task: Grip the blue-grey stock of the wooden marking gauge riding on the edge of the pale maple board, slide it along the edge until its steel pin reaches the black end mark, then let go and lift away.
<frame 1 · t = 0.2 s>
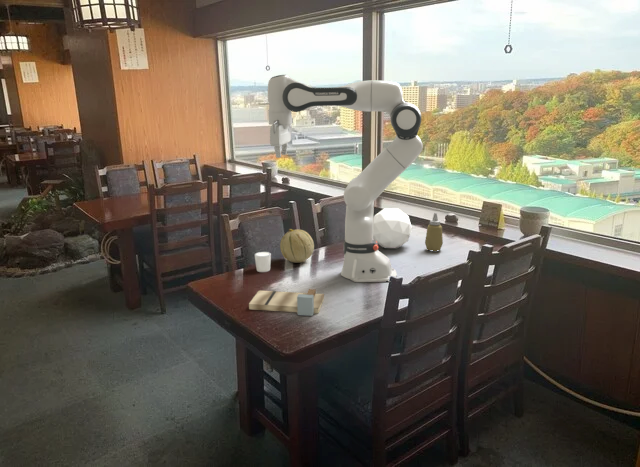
hand: (281, 156, 187), 48 cm above the table, tool pointing down, fingers open, 8 cm apart
marking gauge: (308, 298, 164), point 4 cm above the table, slide at 0.0 cm
ball: (390, 247, 231), on the table
maple board: (287, 304, 168), on the table
squeeze bottle: (433, 251, 225), on the table
white cup: (263, 270, 202), on the table
cantaloupe: (297, 262, 212), on the table
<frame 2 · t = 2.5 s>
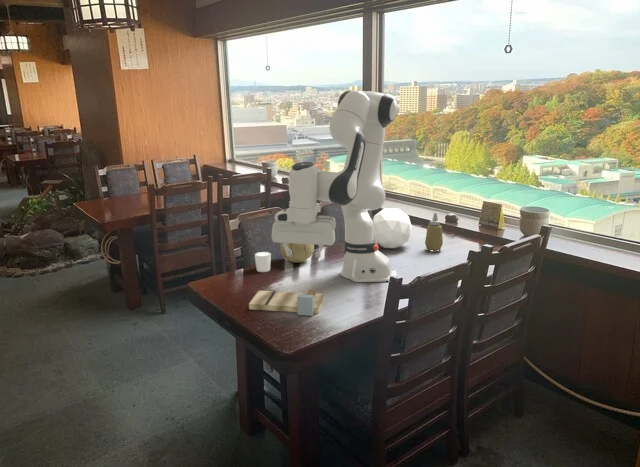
hand: (303, 256, 155), 20 cm above the table, tool pointing down, fingers open, 8 cm apart
nothing on the table moved.
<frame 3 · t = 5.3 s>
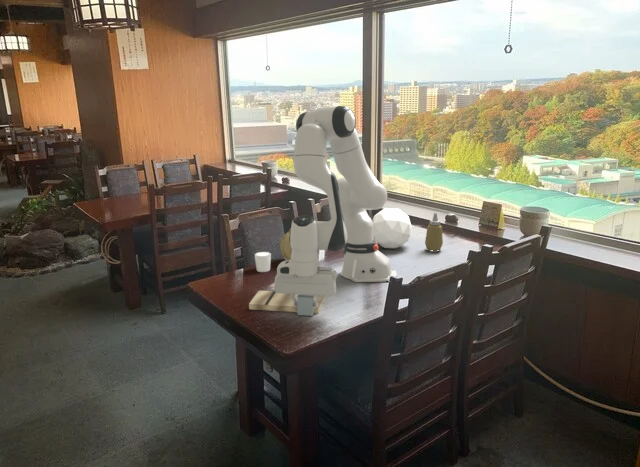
hand: (305, 306, 159), 3 cm above the table, tool pointing down, fingers closed on marking gauge, 5 cm apart
marking gauge: (308, 298, 164), point 4 cm above the table, slide at 0.0 cm, touching gripper
everything else where it was.
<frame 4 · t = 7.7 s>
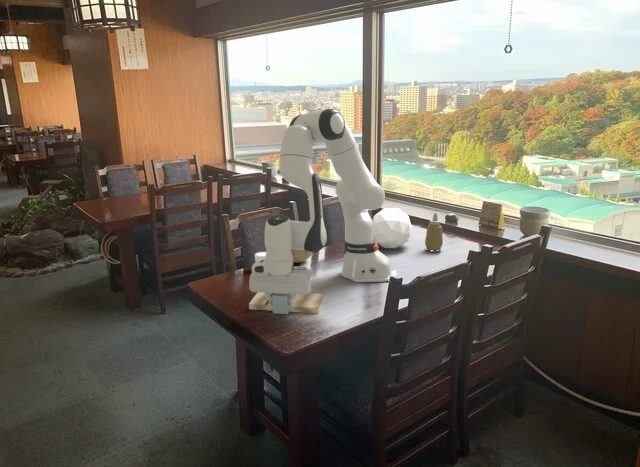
hand: (280, 304, 160), 3 cm above the table, tool pointing down, fingers closed on marking gauge, 5 cm apart
marking gauge: (284, 296, 165), point 4 cm above the table, slide at 8.4 cm, touching gripper
everything else where it was.
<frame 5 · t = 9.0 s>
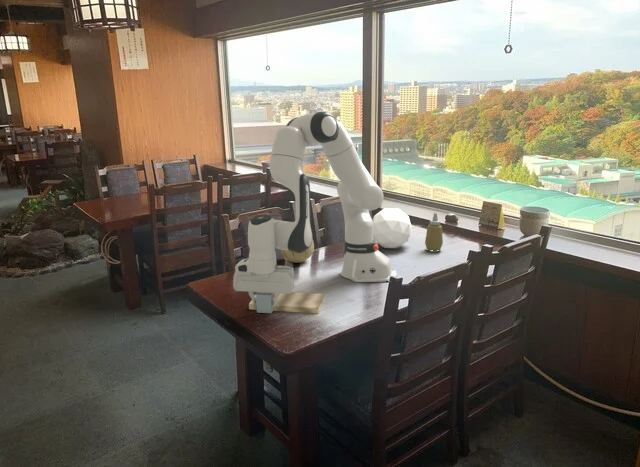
hand: (264, 303, 161), 3 cm above the table, tool pointing down, fingers closed on marking gauge, 5 cm apart
marking gauge: (269, 295, 166), point 4 cm above the table, slide at 13.9 cm, touching gripper
everything else where it was.
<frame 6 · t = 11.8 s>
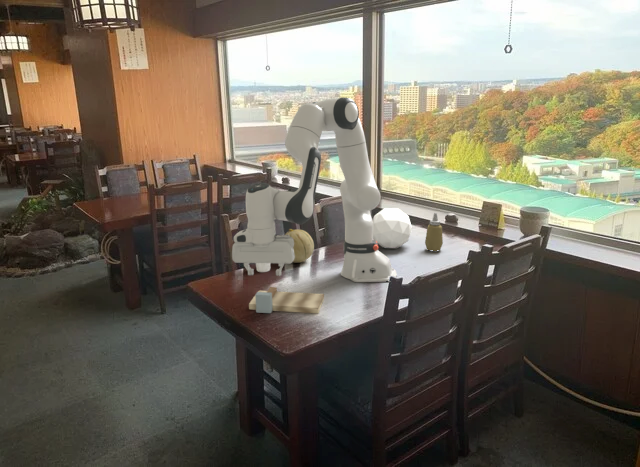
hand: (264, 274, 158), 13 cm above the table, tool pointing down, fingers open, 8 cm apart
marking gauge: (268, 295, 166), point 4 cm above the table, slide at 14.2 cm
everything else where it was.
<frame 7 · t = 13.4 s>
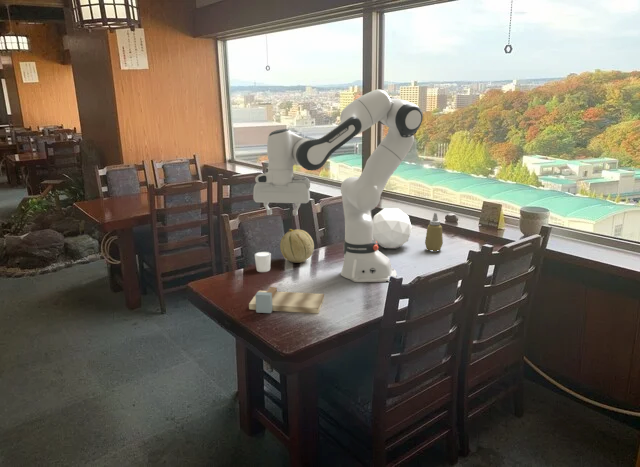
hand: (282, 214, 173), 29 cm above the table, tool pointing down, fingers open, 8 cm apart
nothing on the table moved.
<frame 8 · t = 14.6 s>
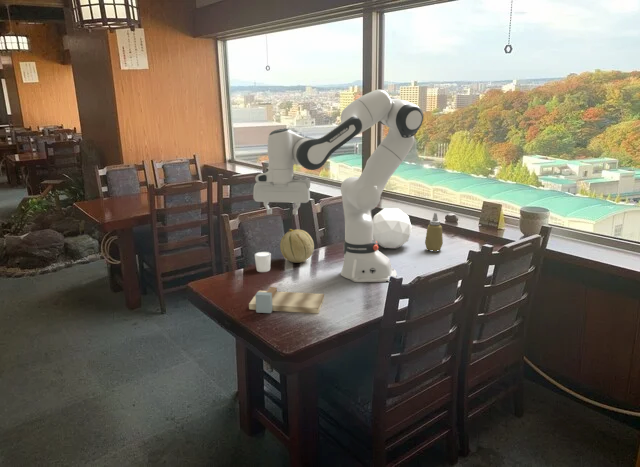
hand: (282, 214, 173), 29 cm above the table, tool pointing down, fingers open, 8 cm apart
nothing on the table moved.
at the end: marking gauge slide at 14.2 cm; the gripper is holding nothing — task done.
